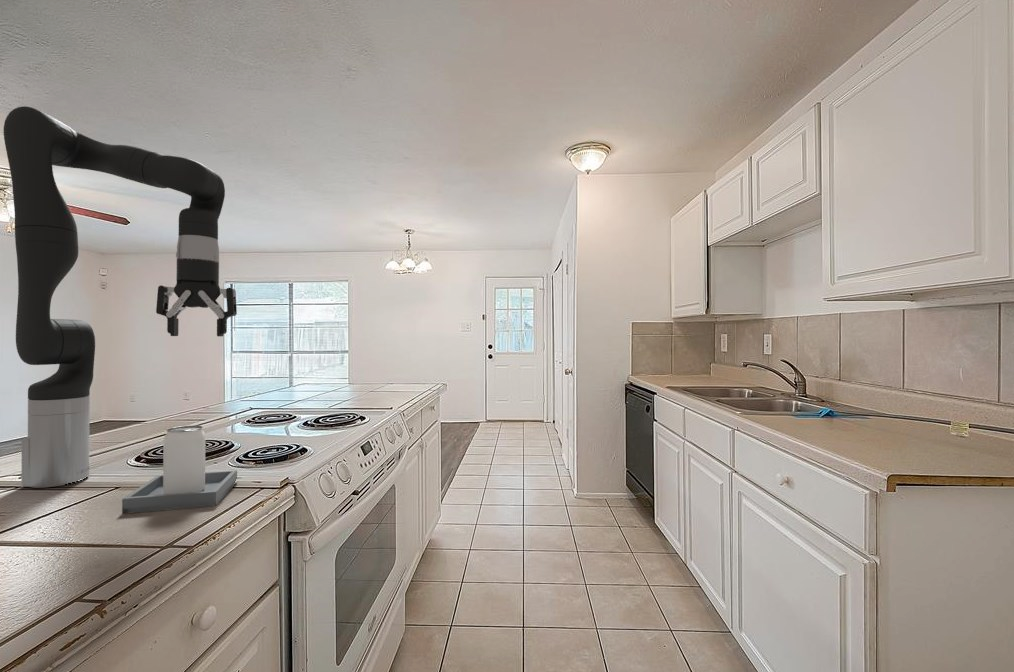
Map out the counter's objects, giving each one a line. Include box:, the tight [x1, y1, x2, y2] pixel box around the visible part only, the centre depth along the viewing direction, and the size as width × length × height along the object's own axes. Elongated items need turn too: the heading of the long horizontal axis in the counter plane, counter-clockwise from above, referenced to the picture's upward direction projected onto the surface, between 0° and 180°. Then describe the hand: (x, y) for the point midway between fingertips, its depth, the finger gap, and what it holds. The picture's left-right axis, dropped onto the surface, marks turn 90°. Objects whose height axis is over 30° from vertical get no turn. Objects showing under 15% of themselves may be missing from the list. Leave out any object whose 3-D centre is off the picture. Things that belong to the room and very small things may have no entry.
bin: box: [121, 469, 238, 514], centre depth 89 cm, size 14×14×2 cm
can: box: [162, 425, 206, 494], centre depth 89 cm, size 6×6×12 cm
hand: (197, 336), depth 101 cm, fingers open, 8 cm apart
